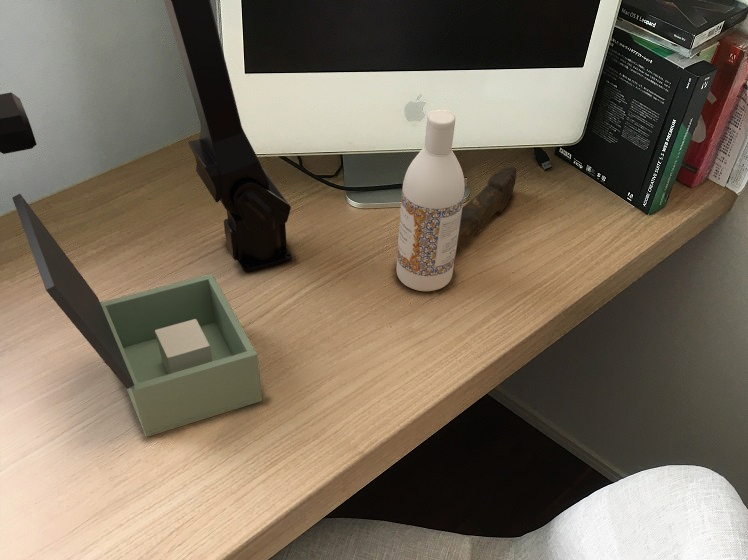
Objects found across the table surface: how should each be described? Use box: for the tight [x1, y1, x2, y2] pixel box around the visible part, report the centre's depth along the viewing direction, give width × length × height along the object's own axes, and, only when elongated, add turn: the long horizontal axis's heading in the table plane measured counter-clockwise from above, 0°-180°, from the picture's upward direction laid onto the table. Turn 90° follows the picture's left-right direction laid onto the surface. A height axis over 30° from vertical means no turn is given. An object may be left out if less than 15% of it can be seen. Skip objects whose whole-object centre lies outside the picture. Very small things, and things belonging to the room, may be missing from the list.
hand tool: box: [456, 165, 517, 254], centre depth 101 cm, size 19×4×5 cm, turn 143°
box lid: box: [11, 193, 134, 390], centre depth 72 cm, size 13×14×1 cm
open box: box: [100, 273, 263, 438], centre depth 82 cm, size 13×14×7 cm
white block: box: [155, 319, 213, 374], centre depth 83 cm, size 4×4×4 cm
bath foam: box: [395, 108, 465, 292], centre depth 89 cm, size 7×7×20 cm
